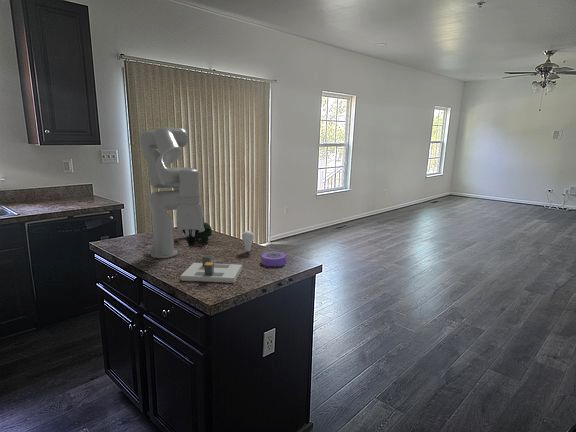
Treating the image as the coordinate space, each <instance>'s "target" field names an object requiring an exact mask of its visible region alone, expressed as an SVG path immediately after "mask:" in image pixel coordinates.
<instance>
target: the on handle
mask: <svg viewBox="0 0 576 432" xmlns="http://www.w3.org/2000/svg"><path fill="white" fill-rule="evenodd" d="M201 259H202V260H201V261H202V262H201V263H202V265H203V266H204V265H205V263H206V262H212V255H210V254H204V255H202V257H201Z"/></svg>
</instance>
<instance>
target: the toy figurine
mask: <svg viewBox="0 0 576 432" xmlns="http://www.w3.org/2000/svg"><path fill="white" fill-rule="evenodd" d="M204 229H205V230H204V231H203V232H199V233H198V234H197V235H196V241H197V240H198V239H200V241H201V242H202V243H207V242H208V241H209V237H211V236H212V234H213V233H212V232H213V231H212V226H211V225H210V224H209V223H208V222H205V221H204ZM191 235H192V230H191Z"/></svg>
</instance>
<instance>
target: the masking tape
mask: <svg viewBox="0 0 576 432" xmlns="http://www.w3.org/2000/svg"><path fill="white" fill-rule="evenodd" d="M260 258H261V259H260V260H261V265H263V266H265V267H269V266H275V268H276V266H278V267H282V265H283V266H285V265H286V264H287V254H286V253H285V252H280V251H267V252H264V253H262V254H261V257H260ZM284 264H285V265H284Z"/></svg>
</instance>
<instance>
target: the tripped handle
mask: <svg viewBox="0 0 576 432" xmlns="http://www.w3.org/2000/svg"><path fill="white" fill-rule="evenodd" d="M214 264H215V263H214V262H213V261H211V262H206V263H205V265H204V269H205V275H212V274H213V273H214Z"/></svg>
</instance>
